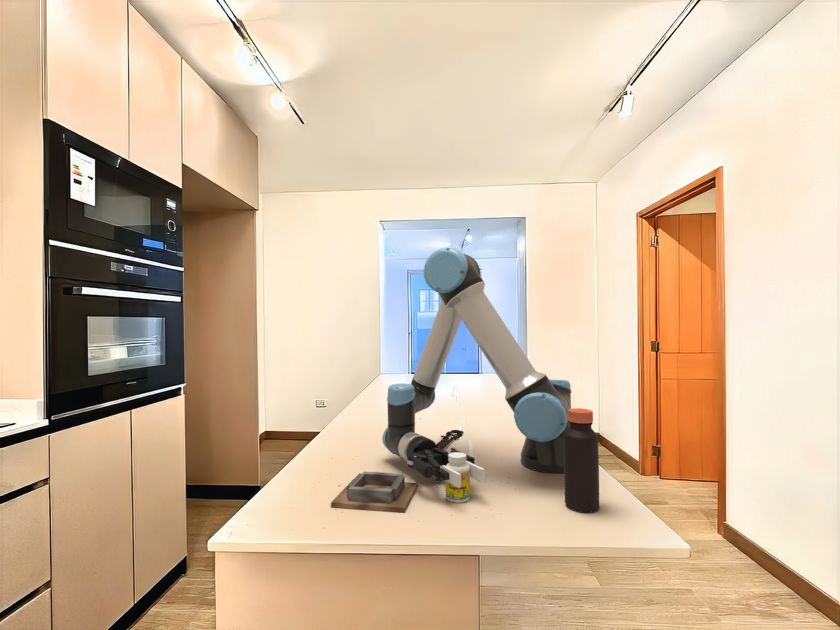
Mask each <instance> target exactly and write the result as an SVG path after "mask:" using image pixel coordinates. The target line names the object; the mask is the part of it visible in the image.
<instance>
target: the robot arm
mask: <svg viewBox="0 0 840 630" xmlns="http://www.w3.org/2000/svg"><path fill="white" fill-rule="evenodd" d="M423 277H424V281H425V283H426V284H427V286H428V287H429V288H430V289H431V290H432V291H433V292H436V293H437V294H438V295H439V298H440V305H439V306H438V309H437V312H436V315H435V317H434V320H433V323H432V326H431V328H430V331H429V334H428V336H427V338H426V340H425V343H424V344H425V345H424V346H423V349H422V352H421V354H420V357H419V360H418V363H417V366H416V369H415V372H414V374H413V376H412V379H411V383H395V384H390V385H389V386H388V388H387V397H386V401H387V427H386V428H385V429H384V431H383V434H382V438H381V439H382V440H381V441H382V443H383V446H384V447H385V448H386V449H387V450H388V451H389V452H390V453H392V454H393V455H396V456H398V458H399V457H400V458H401V459H403V460H404V461H406V463H407V464H406V465H407V466H406V467H407V468H409V469H413V470H414V471H416V472H417V473H419V474H420V475H422V476H423V477H425V478H426V479H433V477H434V479H435V482H441V480H442V481H443V480H444V481H445V482H446V481H447V482H449V483H451V484H452V485H454V486H456V487H458V488H460V487H461V474H460V473H458V472H456V471H454V470H452V469H451V468H449V467H447V466H446V465H447V464H448V463H450V462H449V461H448V455H449V454H450V453H454V452H460V453H462V452H461V451H459V450H457V449H456V448H454V447H451V448H450V449H449V451H447V450H442V449H440V447H439V448H438V447H437V445H436V444H437V443H436V442H435V441H434V440H432V439H430V438H428V437H427V436H424V435H422V434H419V433H417V432H416V414H418V413H420V412H422V411H424V410H426V409H428V408H429V407H430V406H432V405H433V404H434V402H435V400H436V388H437V385H438V383H439V380H440V377H441V374H442V372H443V369H444V367H445V364H446V362H447V359H448V356H449V354H450V351H451V348H452V346H453V344H454V341H455V338H456V336H457V333H458V330H459V328H460V325H461V323H462V322H463V324H464V325H465V327H466V328H467V330H468V332H469V333H470V334H471V336H472V337H473V339H474V341H475V343H476V344H477V345H478V347H479V349H480V350H481V352H482V353H483V355H484V356H485V359H486V360H487V361H488V363H489V364H490V366H491V368H492V369H493V371H494V372H495V374H496V376H497V377H498V378H499V381H500V382H501V384H503V386H504V388H505V395H504V400H505V401H506V403H507V404H508V406H509V407H510V409H511V411H512V412H513V418H514V422H515V423H514V424H515V426H516V427H517V429H518V431H520V433H521V434H522V435H523V436H524V437H525V439H524V443H523V446H522V449H521V453H520V463H521V465H522V466H524V467H525V468H528V469H530V470H534V471H538V472H542V473H550V474H551V473H552V474H558V473H559V474H560V473H561V474H562V473H564V433H565V431H566V430H567V429H568V428H569V427H570V423H569V421H568V410H569V409H572V397H571V395H572V389H571V388H572V387H571V383H570V381H569V380H566V379H549V378H548V376H547V375H546V373H543V372H540V371H538V370H536V369H535V367H534V366H533V365H532V362H531V361H530V360H529V358H528V357H527V355H526V353H524V351H523V350H522V348H521V346H520V345H519V343H518V342H517V340H516V339H515V337H514V336H513V334H512V333H511V331H510V330H509V329H508V327H507V325H506V323H505V321H504V320H503V319H502V318H501V316H500V314H499V313H498V311H497V310H496V308H495V307H494V305H493V304H492V302H491V301H490V299H489V298H488V296H487V295H486V293H485V291H484V289H485V286H486V283H485V281H484V279H483V278H482V275H481V267H480V266H479V263H478V262H477V260H475V259H474V258H473V257H472V256H471V255H468V254H466V253H464V252H462V251H461V250H459V248H458V249H457V248H454V247H441V248H439V249H437V250H435V251H433V252H432V253H431V254H430V255H429V257H427V259H426V262H425V264H424V268H423ZM466 459H467V460H466V462H465V463H467V464H468V465H469V467H470V478H472V479H474V480H477V481H479V482H481V483H485V482H486V480H485V477H486V476H485V475H486V473H485V470H486V469H485V468H484V467H481V466H478V465H477V464H475V460H476V459H475V457H474V456H471V455H468V454H466Z"/></svg>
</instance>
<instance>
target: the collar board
mask: <svg viewBox="0 0 840 630" xmlns="http://www.w3.org/2000/svg"><path fill="white" fill-rule="evenodd" d="M418 488H419V482H411V481H406V478H405V475H404V473H398V472H397V473H395V472H383V471H382V472H381V471H380V472H379V471H363V472H361V473H358V474H357V475H356V476H355V477H354V478H353V479H352V480H351V481H350V482H349V483H348V484H347V485H346V486H345V487H344V488H343V490H341V492H339V493H338V494H337V496H336V497H335V498H334V499H333V500H331V502H330V507H331V508H337V509H353V510H361V511H362V510H363V511H364V510H366V511H376V512H377V511H378V512H390V513H391V512H392V513H393V512H394V513H403V514H404V513H406V510H407V509H408V507H409V505H410V503H411V501H412V500H413V498H412V497H414V495H415V494H416V492H417V490H418ZM411 499H412V500H411Z"/></svg>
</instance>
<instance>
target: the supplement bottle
mask: <svg viewBox="0 0 840 630" xmlns="http://www.w3.org/2000/svg"><path fill="white" fill-rule="evenodd" d="M460 452H461V451H459V452H454V453H450V454H449V455H448V461H449V462H450V463H448V464H447V465H446V466H447V467H449V468H451V469H452V470H454V471H456V472H458V473H460V474H461V487H460V488H458V487H456V486H454V485H452V484H451V483H449V482H447V481H446V480H445V497H446V499H447V500H448V501H449V502H451V503H456V504H457V503H458V504H462V503H465V502H468V501H469V500H471V476H470V467H469V465H468V464H467V463H465V462H466V460H467V459H466V455H467V454H466V453H465V452H461V453H460Z"/></svg>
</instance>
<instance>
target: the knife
mask: <svg viewBox="0 0 840 630" xmlns="http://www.w3.org/2000/svg"><path fill="white" fill-rule="evenodd" d="M456 433H457V434H456ZM463 434H464V431H463V430H459V429H452V430H450V431H447V432H446V434H445V435H443V434H441V435H440V438H441V439H440V440H439V441H438V442H437V443H435V444H436V445H437V447H438V448H440V449H442V450H444V451H446V449H447V448H448V447H449V446H450V445H452V444H453V443H454V442H455V441H460V439H461V437H462V436H463ZM449 436H450V437H449ZM452 436H453V437H452ZM442 438H443V439H442ZM456 439H457V440H456Z"/></svg>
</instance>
